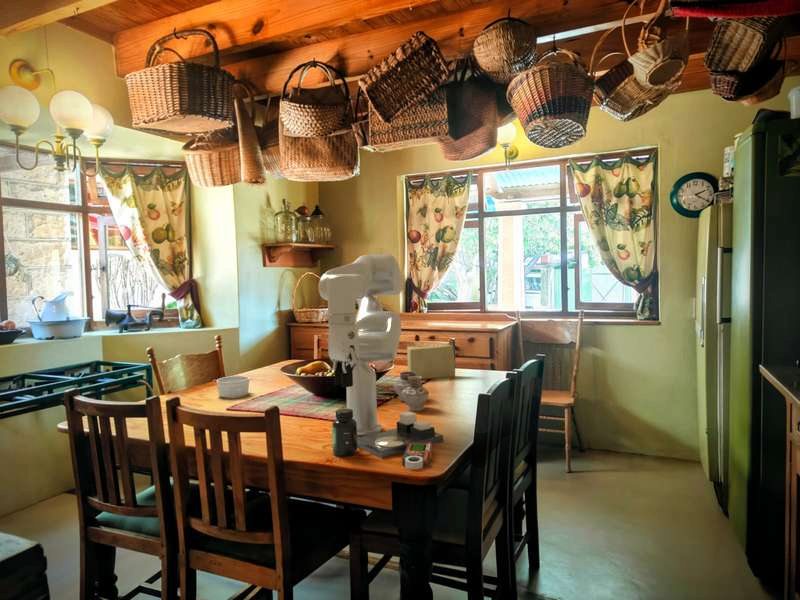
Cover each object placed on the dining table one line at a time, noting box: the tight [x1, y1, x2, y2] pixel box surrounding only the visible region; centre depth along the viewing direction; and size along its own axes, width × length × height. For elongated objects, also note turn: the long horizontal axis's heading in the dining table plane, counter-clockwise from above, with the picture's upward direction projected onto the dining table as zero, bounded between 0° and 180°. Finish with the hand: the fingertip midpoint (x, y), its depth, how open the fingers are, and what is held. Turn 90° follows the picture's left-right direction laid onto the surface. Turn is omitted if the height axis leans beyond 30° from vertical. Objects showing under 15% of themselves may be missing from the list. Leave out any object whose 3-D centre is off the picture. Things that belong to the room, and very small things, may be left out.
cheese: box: [406, 344, 456, 380], centre depth 249 cm, size 22×10×15 cm, turn 97°
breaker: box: [399, 411, 417, 425], centre depth 161 cm, size 4×4×4 cm
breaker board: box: [357, 420, 444, 459], centre depth 155 cm, size 14×22×4 cm, turn 126°
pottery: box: [393, 370, 429, 412], centre depth 200 cm, size 11×25×12 cm, turn 10°
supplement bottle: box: [331, 408, 358, 458], centre depth 148 cm, size 7×7×12 cm
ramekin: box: [216, 375, 250, 399], centre depth 221 cm, size 13×13×7 cm
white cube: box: [414, 419, 432, 430], centre depth 156 cm, size 4×4×4 cm
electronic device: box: [401, 441, 433, 470], centre depth 142 cm, size 7×3×15 cm
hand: (343, 384), depth 147 cm, fingers open, 3 cm apart
